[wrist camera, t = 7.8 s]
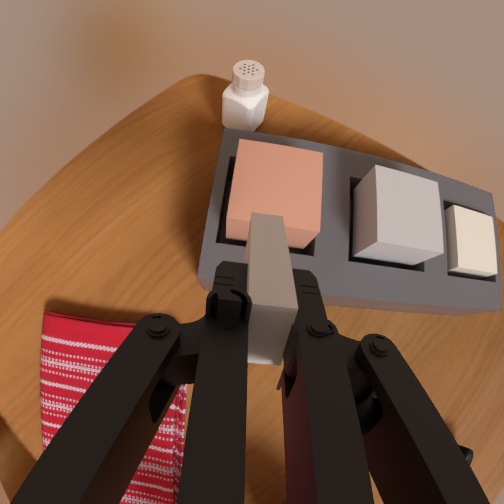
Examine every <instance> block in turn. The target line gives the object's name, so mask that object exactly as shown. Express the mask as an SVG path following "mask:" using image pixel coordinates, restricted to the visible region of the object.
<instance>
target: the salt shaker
mask: <svg viewBox="0 0 504 504" xmlns="http://www.w3.org/2000/svg"><path fill="white" fill-rule="evenodd" d="M264 74H265V70H264V68H263V66H262V65H261V64H260V63H258V62H256V61H252V60H242V61H240V62H238V63H236V64H235V65H234V67H233V69H232V83H231V84H230V85H229V86H228V87H227V88H226V89H225V90H224V92H223V96H222V124H223V125H224V126H225V127H226V128H231V129H239V130H246V131H253V132H254V131H255V130H256V129H257V127H258V126H259V125H260V124H261V123H262V122H263V119H264V114H265V109H266V104H267V99H268V94H269V90H268V89H267V87H266V86H264V85H263V79H264Z"/></svg>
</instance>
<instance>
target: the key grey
mask: <svg viewBox="0 0 504 504" xmlns="http://www.w3.org/2000/svg"><path fill="white" fill-rule="evenodd" d="M443 253H444V249H443V231H442V218H441V207H440V197H439V189H438V182H435V181H432V180H429V179H426V178H422V177H419V176H415V175H412V174H408V173H405V172H401V171H398V170H394V169H390V168H386V167H383V166H379V165H375V166H374V167H373V168H372V169H371V170H370V171H369V172H368V173H367V175H366V176H365V177H364V178H363V179H362V180H361V181H360V183H359V184H358V185H357V186H356V187H355V188H354V189H353V249H352V256H353V257H360V258H367V259H374V260H380V261H387V262H394V263H400V264H407V265H415V264H418V263H420V262H423V261H425V260H428V259H431V258H433V257H436V256H438V255H441V254H443Z"/></svg>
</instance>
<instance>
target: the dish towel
mask: <svg viewBox="0 0 504 504" xmlns="http://www.w3.org/2000/svg"><path fill="white" fill-rule="evenodd" d="M136 324H137V323H122V322H105V321H99V320H94V319H88V318H81V317H76V316H69V315H64V314H60V313H56V312H54V311H48V310H46V312H45V313H44V315H43V331H42V346H41V368H40V370H41V378H40V381H41V400H40V401H41V416H42V418H41V421H42V434H43V435H42V440H43V445H44V450H45V449H46V447H47V446H48V444H49V443H50V441H51V440H52V439H53V437H54V436H55V434H56V433H57V431H58V430H59V428H60V427H61V426H62V424H63V423H64V421H65V420H66V418H67V417H68V416H69V414H70V413H71V411H72V410H73V408H74V407H75V406H76V404H77V403H78V402H79V400H80V399H81V397H82V396H83V395H84V393H85V392H86V390H87V389H88V388H89V386H90V385H91V384H92V382H93V381H94V380H95V378H96V377H97V375H98V374H99V373H100V371H101V370H102V369H103V367H104V366H105V365H106V363H107V362H108V361H109V359H110V358H111V357H112V355H113V354H114V353H115V351H116V350H117V349H118V347H119V346H120V345H121V344H122V342H123V341H124V340H125V338H126V337H127V336H128V334H129V333H130V332H131V331H132V329H133V328H134V327H135V325H136ZM186 393H187V384H185V385H181V387H180V389H179V391H178V392H177V394H176V396H175V398H174V400H173V402H172V404H171V406H170V408H169V410H168V412H167V413H166V415H165V417H164V419H163V421H162V423H161V425H160V427H159V429H158V431H157V433H156V434H155V436H154V438H153V440H152V442H151V444H150V446H149V448H148V450H147V452H146V454H145V455H144V457H143V459H142V461H141V463H140V465H139V467H138V469H137V471H136V473H135V475H134V476H133V478H132V480H131V482H130V484H129V486H128V488H127V490H126V492H125V494H124V496H123V497H122V499H121V501H120V503H119V504H177V499H178V491H179V483H180V476H181V468H182V461H183V444H184V441H183V440H184V433H185V432H184V423H185V421H184V420H185V401H186Z"/></svg>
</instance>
